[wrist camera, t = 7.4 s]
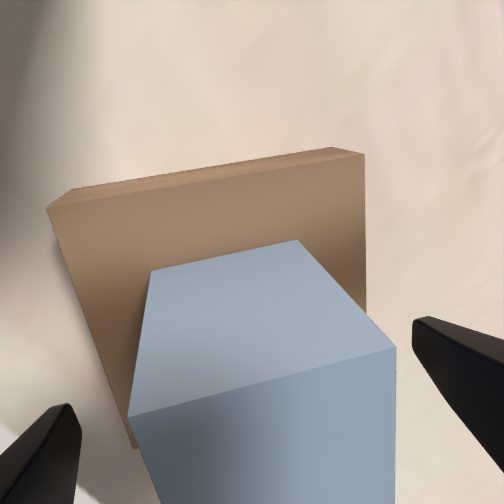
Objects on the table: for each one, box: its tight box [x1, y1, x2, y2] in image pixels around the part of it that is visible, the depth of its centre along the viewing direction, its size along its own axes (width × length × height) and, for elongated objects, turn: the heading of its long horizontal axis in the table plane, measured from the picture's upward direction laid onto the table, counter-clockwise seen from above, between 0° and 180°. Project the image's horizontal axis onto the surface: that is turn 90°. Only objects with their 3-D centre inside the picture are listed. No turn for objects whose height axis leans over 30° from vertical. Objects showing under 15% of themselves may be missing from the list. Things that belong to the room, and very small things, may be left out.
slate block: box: [127, 239, 396, 504], centre depth 9 cm, size 4×4×6 cm
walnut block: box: [46, 147, 366, 449], centre depth 13 cm, size 9×9×3 cm
